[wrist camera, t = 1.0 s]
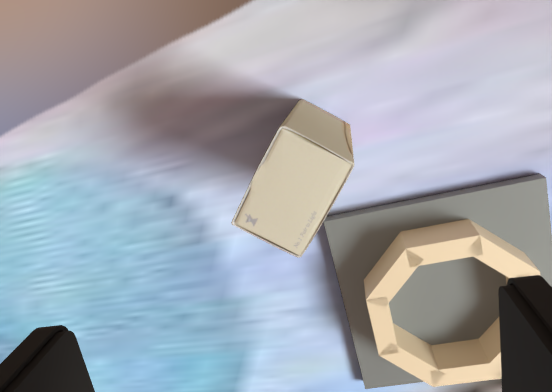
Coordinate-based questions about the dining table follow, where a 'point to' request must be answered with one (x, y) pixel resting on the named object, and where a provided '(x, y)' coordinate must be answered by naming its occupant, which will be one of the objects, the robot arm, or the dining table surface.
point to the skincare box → (297, 179)
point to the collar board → (438, 278)
